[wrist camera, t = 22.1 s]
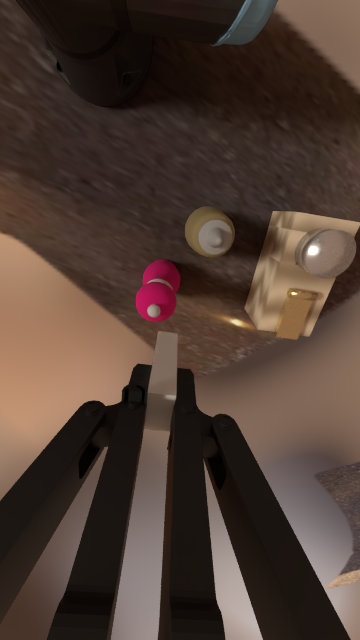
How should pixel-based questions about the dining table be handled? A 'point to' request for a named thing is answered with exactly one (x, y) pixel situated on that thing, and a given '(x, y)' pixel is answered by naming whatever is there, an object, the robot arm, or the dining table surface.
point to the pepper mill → (158, 291)
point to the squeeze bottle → (209, 232)
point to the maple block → (288, 269)
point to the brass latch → (294, 312)
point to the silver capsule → (325, 252)
